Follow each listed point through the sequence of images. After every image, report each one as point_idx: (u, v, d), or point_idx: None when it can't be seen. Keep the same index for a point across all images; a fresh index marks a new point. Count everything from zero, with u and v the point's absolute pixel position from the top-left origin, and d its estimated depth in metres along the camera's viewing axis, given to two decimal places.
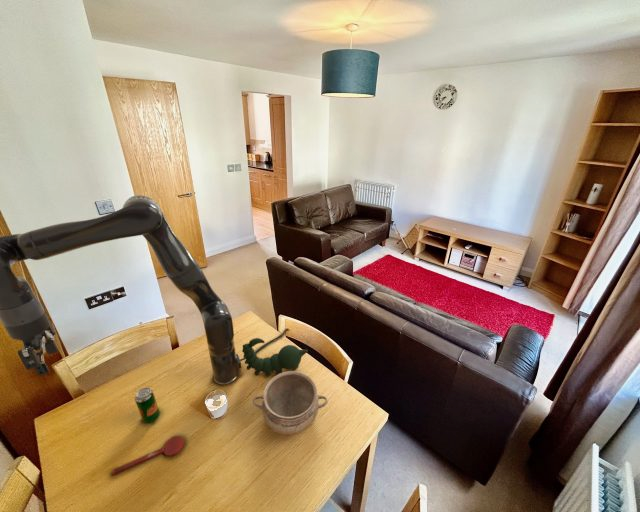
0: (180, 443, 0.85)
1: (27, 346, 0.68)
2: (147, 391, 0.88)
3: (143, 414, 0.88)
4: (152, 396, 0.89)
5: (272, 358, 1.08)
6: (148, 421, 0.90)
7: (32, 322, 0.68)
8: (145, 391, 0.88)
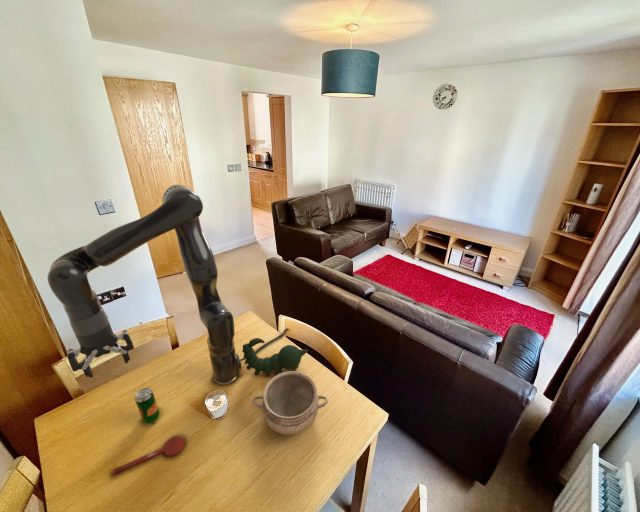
0: (180, 443, 0.85)
1: (76, 350, 0.74)
2: (147, 391, 0.88)
3: (143, 414, 0.88)
4: (152, 396, 0.89)
5: (272, 358, 1.08)
6: (148, 421, 0.90)
7: (78, 336, 0.71)
8: (145, 391, 0.88)
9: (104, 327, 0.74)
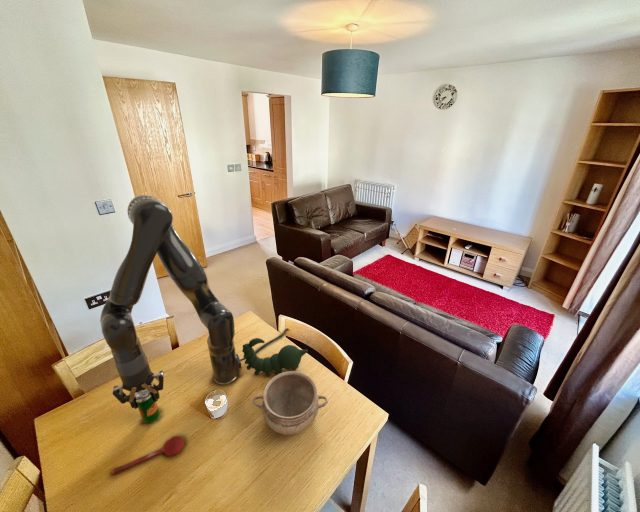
0: (180, 443, 0.85)
1: (119, 387, 0.83)
2: (147, 391, 0.88)
3: (143, 414, 0.88)
4: (152, 396, 0.89)
5: (272, 358, 1.08)
6: (148, 421, 0.90)
7: (121, 376, 0.80)
8: (145, 391, 0.88)
9: (143, 369, 0.82)
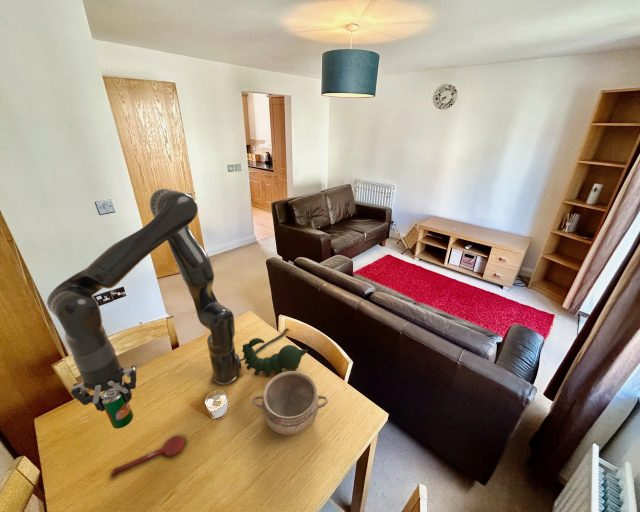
0: (180, 443, 0.85)
1: (79, 385, 0.68)
2: (116, 390, 0.74)
3: (111, 418, 0.74)
4: (122, 396, 0.74)
5: (272, 358, 1.08)
6: (119, 426, 0.75)
7: (80, 371, 0.65)
8: (114, 390, 0.74)
9: (108, 362, 0.67)
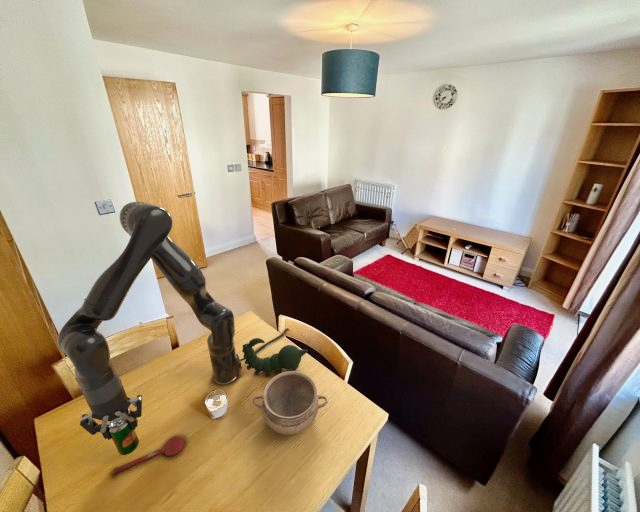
0: (180, 443, 0.85)
1: (88, 416, 0.71)
2: (123, 419, 0.76)
3: (118, 445, 0.76)
4: (128, 424, 0.76)
5: (272, 358, 1.08)
6: (125, 453, 0.78)
7: (88, 404, 0.67)
8: (120, 419, 0.76)
9: (115, 395, 0.69)
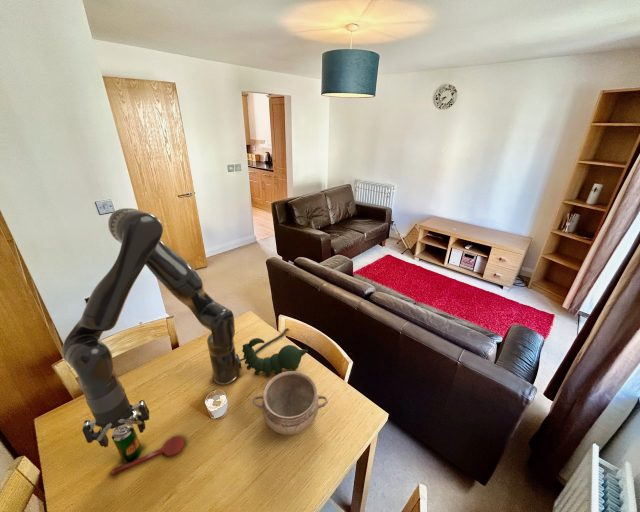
0: (180, 443, 0.85)
1: (91, 422, 0.72)
2: (126, 427, 0.78)
3: (122, 453, 0.78)
4: (132, 433, 0.78)
5: (272, 358, 1.08)
6: (129, 460, 0.79)
7: (92, 412, 0.69)
8: (124, 427, 0.78)
9: (119, 403, 0.71)
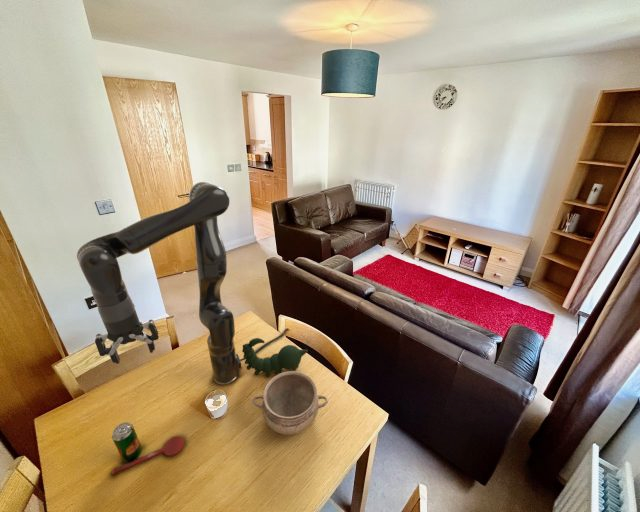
0: (180, 443, 0.85)
1: (103, 335, 0.74)
2: (126, 427, 0.78)
3: (122, 453, 0.78)
4: (132, 433, 0.78)
5: (272, 358, 1.08)
6: (129, 460, 0.79)
7: (104, 322, 0.71)
8: (124, 427, 0.78)
9: (129, 315, 0.73)
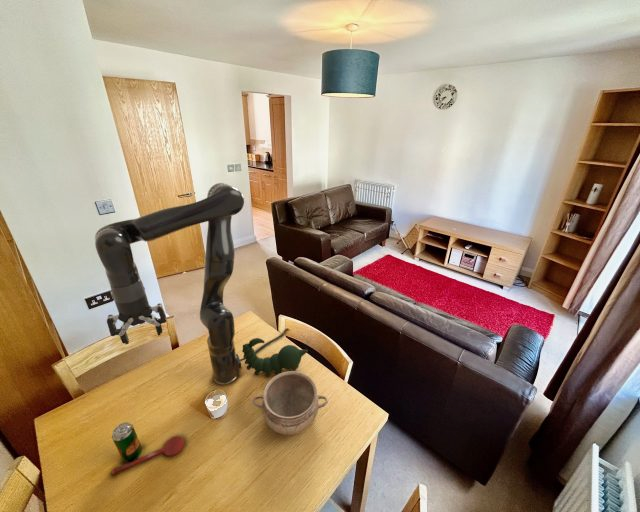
0: (180, 443, 0.85)
1: (114, 316, 0.78)
2: (126, 427, 0.78)
3: (122, 453, 0.78)
4: (132, 433, 0.78)
5: (272, 358, 1.08)
6: (129, 460, 0.79)
7: (116, 303, 0.75)
8: (124, 427, 0.78)
9: (140, 297, 0.77)
